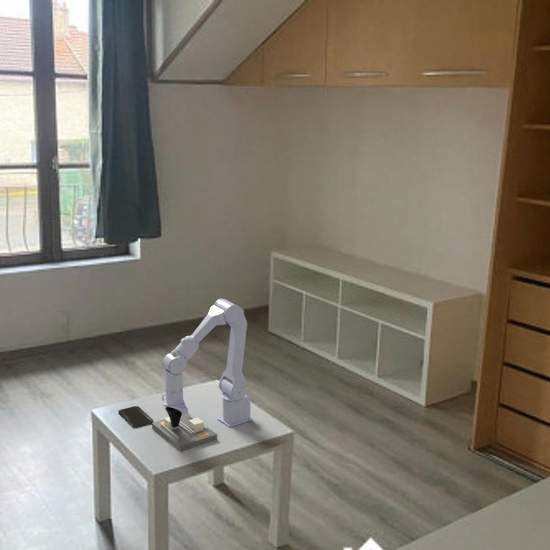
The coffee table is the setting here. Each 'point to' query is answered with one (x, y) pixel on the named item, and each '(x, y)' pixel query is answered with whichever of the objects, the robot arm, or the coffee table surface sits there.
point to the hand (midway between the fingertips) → (175, 426)
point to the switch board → (184, 434)
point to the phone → (135, 416)
